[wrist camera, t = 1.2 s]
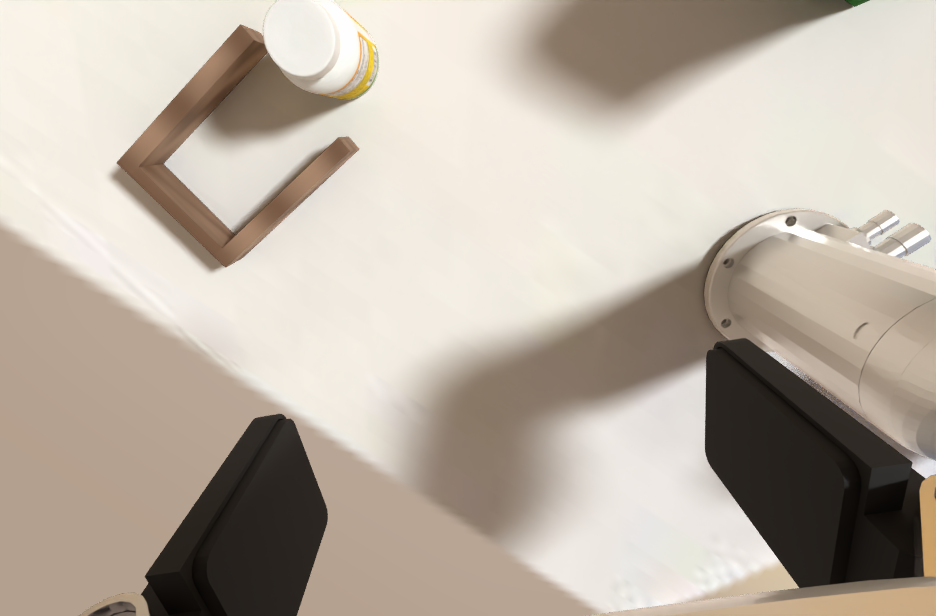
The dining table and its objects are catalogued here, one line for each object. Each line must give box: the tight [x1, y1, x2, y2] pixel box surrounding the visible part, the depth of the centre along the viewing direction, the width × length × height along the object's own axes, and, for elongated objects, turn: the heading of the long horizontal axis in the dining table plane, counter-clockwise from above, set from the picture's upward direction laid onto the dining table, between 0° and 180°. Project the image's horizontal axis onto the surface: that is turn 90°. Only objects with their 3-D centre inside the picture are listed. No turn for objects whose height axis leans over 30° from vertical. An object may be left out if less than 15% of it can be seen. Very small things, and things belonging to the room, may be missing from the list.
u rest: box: [117, 24, 359, 267], centre depth 36 cm, size 14×10×3 cm
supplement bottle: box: [263, 0, 379, 100], centre depth 30 cm, size 5×5×10 cm
